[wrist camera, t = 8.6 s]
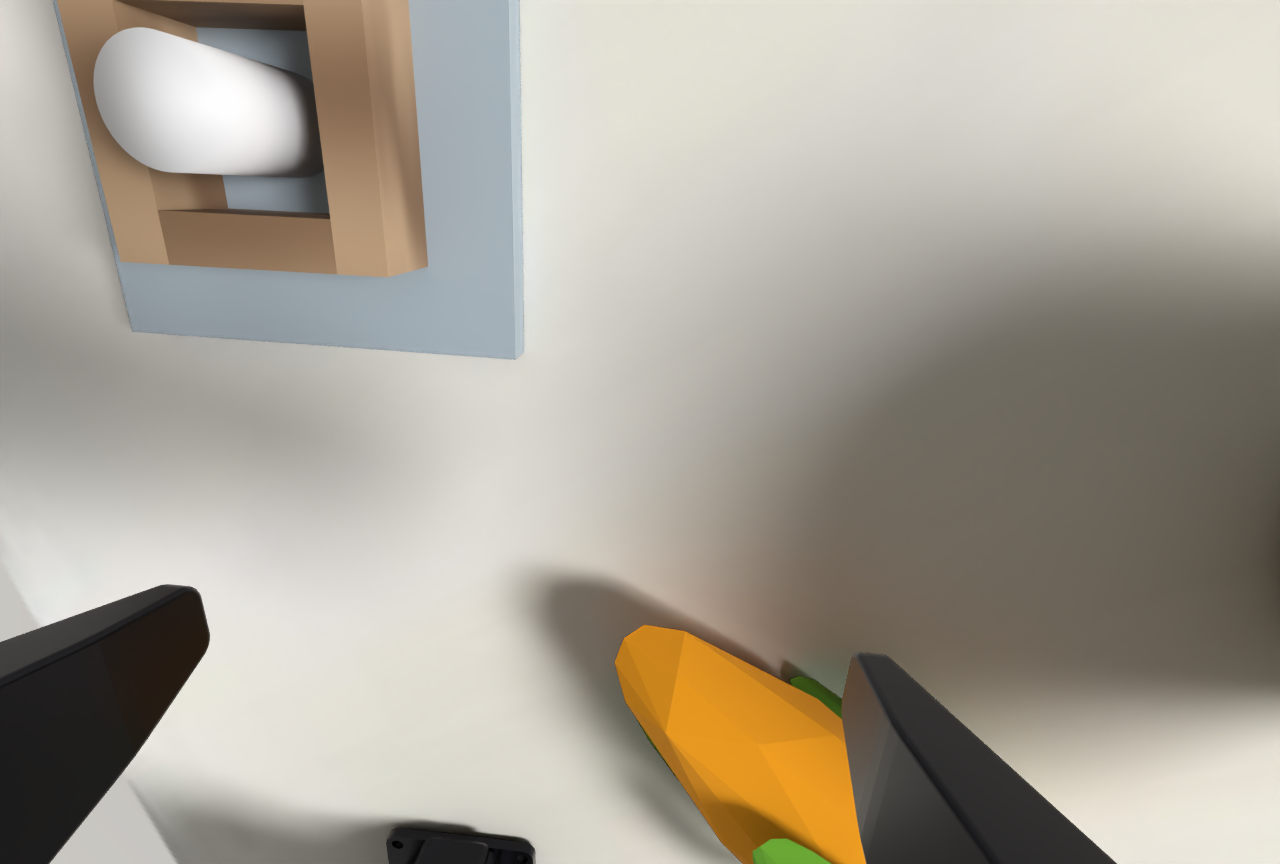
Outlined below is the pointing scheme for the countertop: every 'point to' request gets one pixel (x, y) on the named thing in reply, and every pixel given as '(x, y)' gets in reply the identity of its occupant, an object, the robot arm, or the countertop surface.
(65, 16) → the square wooden frame
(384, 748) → the countertop surface
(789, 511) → the countertop surface
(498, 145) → the base plate with peg
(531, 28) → the countertop surface
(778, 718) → the corn
